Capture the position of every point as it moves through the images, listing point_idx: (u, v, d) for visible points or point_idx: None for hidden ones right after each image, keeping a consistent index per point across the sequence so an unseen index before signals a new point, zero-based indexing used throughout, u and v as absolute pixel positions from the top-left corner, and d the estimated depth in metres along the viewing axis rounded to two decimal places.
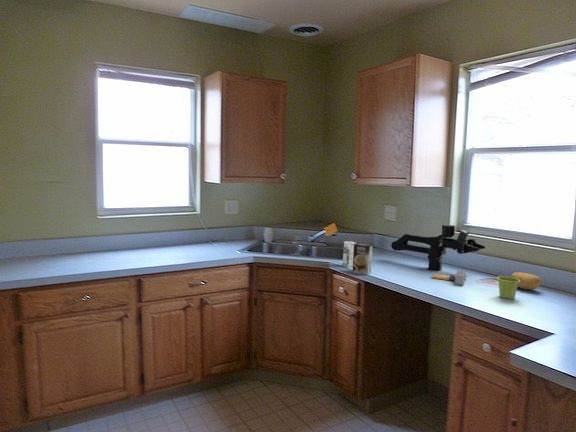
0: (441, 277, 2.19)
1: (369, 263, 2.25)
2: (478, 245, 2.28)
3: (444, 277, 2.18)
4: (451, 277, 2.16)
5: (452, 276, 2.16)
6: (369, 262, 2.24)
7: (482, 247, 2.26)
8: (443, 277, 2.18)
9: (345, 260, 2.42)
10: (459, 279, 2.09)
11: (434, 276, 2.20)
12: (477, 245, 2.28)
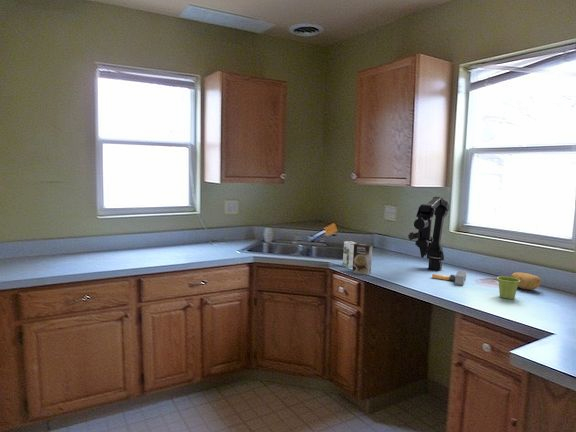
0: (441, 277, 2.19)
1: (369, 263, 2.25)
2: None
3: (444, 277, 2.18)
4: (451, 277, 2.16)
5: (452, 276, 2.16)
6: (369, 262, 2.24)
7: None
8: (443, 277, 2.18)
9: (345, 260, 2.42)
10: (459, 279, 2.09)
11: (434, 276, 2.20)
12: None
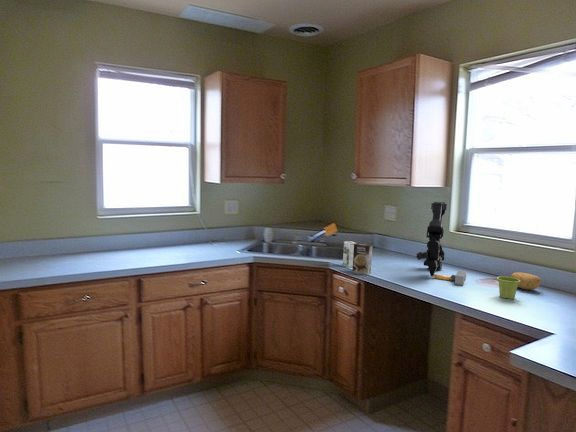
0: (442, 277, 2.18)
1: (369, 263, 2.25)
2: None
3: (445, 277, 2.18)
4: (452, 277, 2.15)
5: (453, 276, 2.15)
6: (369, 262, 2.24)
7: None
8: (444, 277, 2.18)
9: (345, 260, 2.42)
10: (459, 279, 2.09)
11: (435, 276, 2.20)
12: None
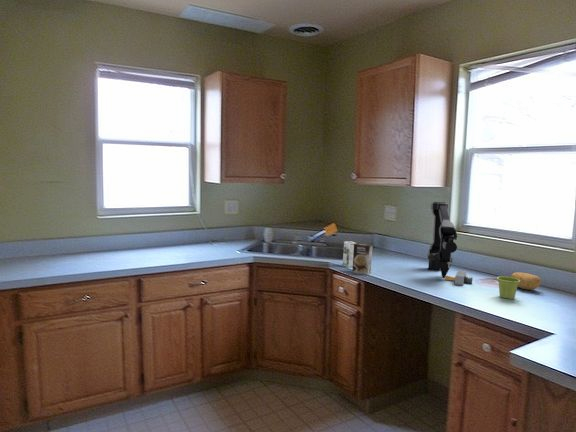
0: (454, 279, 2.16)
1: (369, 263, 2.25)
2: None
3: None
4: (465, 279, 2.13)
5: (466, 278, 2.13)
6: (369, 262, 2.24)
7: None
8: None
9: (345, 260, 2.42)
10: (459, 279, 2.09)
11: (447, 278, 2.17)
12: None
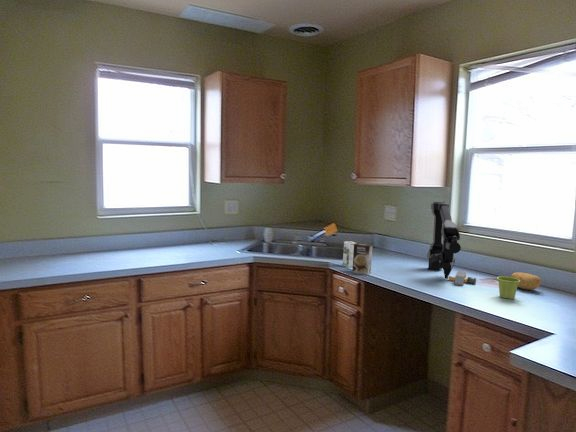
0: None
1: (369, 263, 2.25)
2: None
3: None
4: (468, 279, 2.12)
5: (469, 278, 2.12)
6: (369, 262, 2.24)
7: None
8: None
9: (345, 260, 2.42)
10: (459, 279, 2.09)
11: (451, 278, 2.16)
12: None
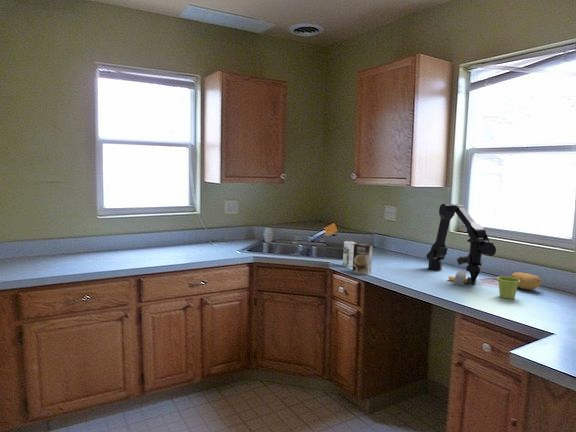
0: None
1: (369, 263, 2.25)
2: None
3: None
4: (468, 280, 2.12)
5: (469, 279, 2.12)
6: (369, 262, 2.24)
7: None
8: None
9: (345, 260, 2.42)
10: (459, 279, 2.09)
11: (451, 278, 2.16)
12: None
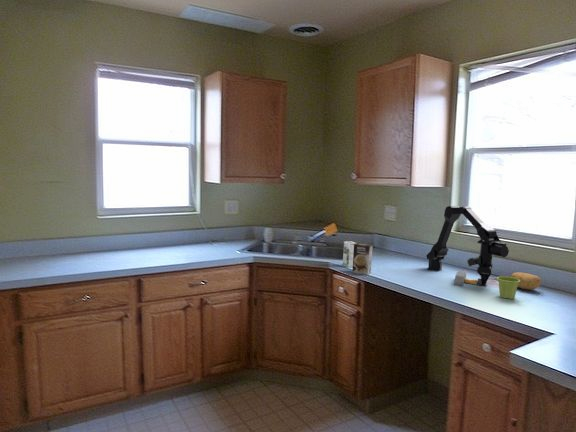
0: (468, 281, 2.12)
1: (369, 263, 2.25)
2: None
3: (471, 281, 2.12)
4: (479, 281, 2.09)
5: (480, 280, 2.09)
6: (369, 262, 2.24)
7: None
8: (470, 281, 2.12)
9: (345, 260, 2.42)
10: (459, 279, 2.09)
11: None
12: None
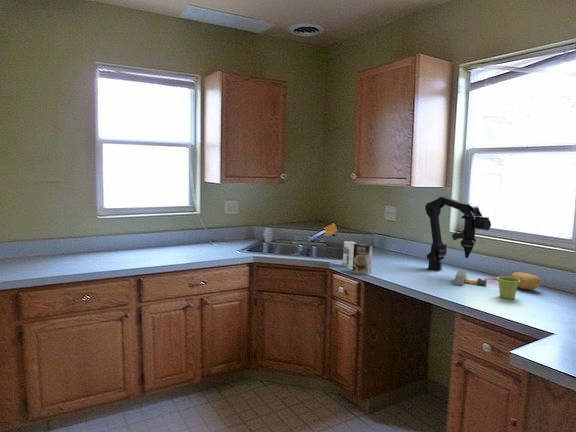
0: (468, 281, 2.12)
1: (369, 263, 2.25)
2: None
3: (471, 281, 2.12)
4: (479, 281, 2.09)
5: (480, 280, 2.09)
6: (369, 262, 2.24)
7: None
8: (470, 281, 2.12)
9: (345, 260, 2.42)
10: (459, 279, 2.09)
11: None
12: None
